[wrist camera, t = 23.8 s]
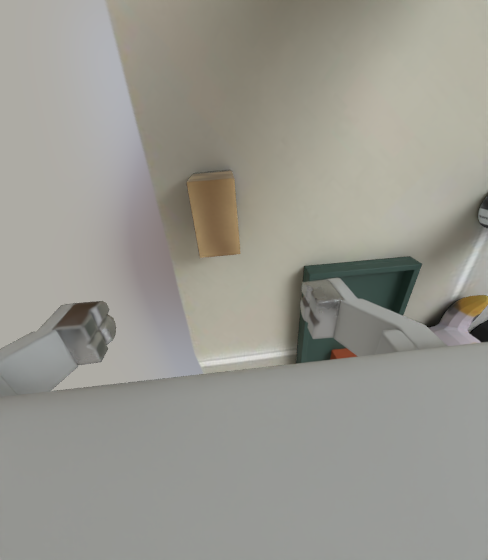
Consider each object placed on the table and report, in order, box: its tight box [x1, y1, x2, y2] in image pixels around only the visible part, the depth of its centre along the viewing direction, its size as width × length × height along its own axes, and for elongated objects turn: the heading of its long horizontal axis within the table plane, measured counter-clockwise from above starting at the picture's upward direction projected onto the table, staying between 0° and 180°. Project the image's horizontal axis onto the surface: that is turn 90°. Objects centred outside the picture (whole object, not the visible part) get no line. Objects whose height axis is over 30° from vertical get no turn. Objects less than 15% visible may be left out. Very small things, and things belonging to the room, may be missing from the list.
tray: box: [296, 256, 422, 364], centre depth 37 cm, size 22×15×2 cm
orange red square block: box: [330, 348, 358, 360], centre depth 39 cm, size 4×4×2 cm
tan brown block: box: [187, 170, 240, 258], centre depth 24 cm, size 4×7×6 cm, turn 4°
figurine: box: [429, 295, 488, 346], centre depth 35 cm, size 12×17×15 cm
